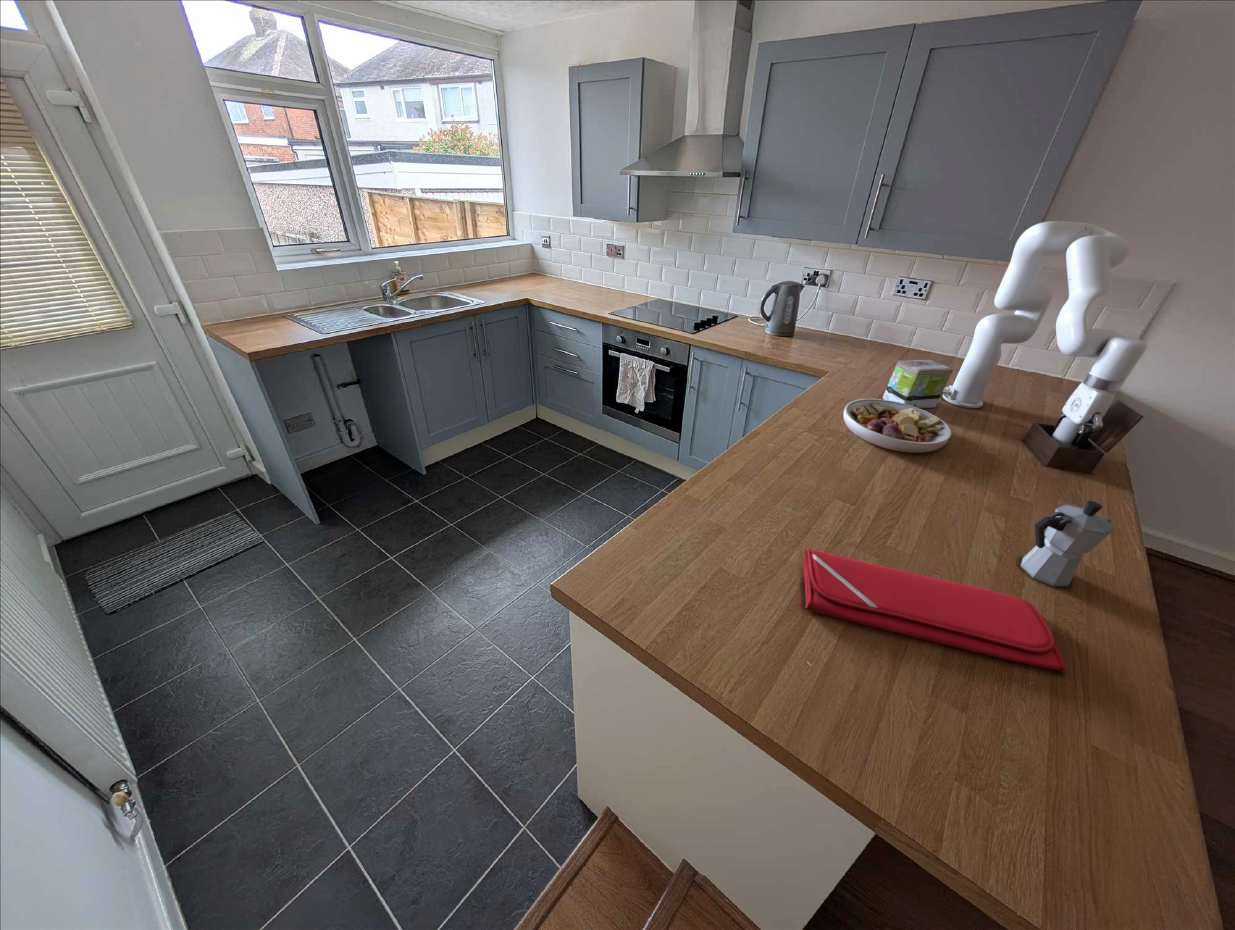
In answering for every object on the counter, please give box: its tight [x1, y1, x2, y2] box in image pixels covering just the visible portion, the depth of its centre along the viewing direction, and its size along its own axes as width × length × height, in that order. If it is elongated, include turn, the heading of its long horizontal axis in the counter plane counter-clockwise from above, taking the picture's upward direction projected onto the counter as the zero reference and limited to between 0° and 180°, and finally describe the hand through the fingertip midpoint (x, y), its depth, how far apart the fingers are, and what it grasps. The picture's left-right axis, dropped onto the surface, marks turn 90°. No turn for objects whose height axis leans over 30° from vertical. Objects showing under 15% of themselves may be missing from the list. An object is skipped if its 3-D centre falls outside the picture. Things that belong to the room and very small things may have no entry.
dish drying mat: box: [803, 547, 1067, 672], centre depth 88 cm, size 16×41×4 cm, turn 74°
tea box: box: [882, 359, 954, 409], centre depth 166 cm, size 15×10×15 cm, turn 105°
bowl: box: [843, 398, 952, 454], centre depth 148 cm, size 30×30×8 cm
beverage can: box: [1051, 416, 1089, 449], centre depth 139 cm, size 6×6×12 cm
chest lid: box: [1088, 395, 1145, 454], centre depth 134 cm, size 12×16×1 cm
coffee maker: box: [1020, 500, 1115, 588], centre depth 95 cm, size 15×9×18 cm, turn 92°
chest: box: [1022, 421, 1106, 475], centre depth 141 cm, size 11×16×7 cm
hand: (1067, 437), depth 139 cm, fingers open, 9 cm apart
